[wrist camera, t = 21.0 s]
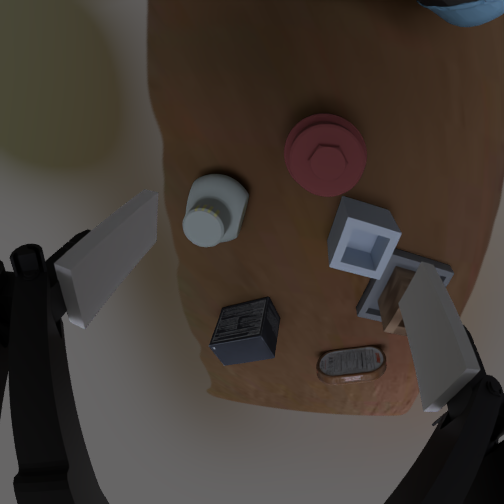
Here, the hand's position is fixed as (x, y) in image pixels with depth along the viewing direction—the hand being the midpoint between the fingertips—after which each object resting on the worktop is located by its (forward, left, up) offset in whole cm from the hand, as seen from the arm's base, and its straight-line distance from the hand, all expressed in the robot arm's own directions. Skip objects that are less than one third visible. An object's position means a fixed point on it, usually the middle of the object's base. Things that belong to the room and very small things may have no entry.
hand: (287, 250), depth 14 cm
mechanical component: (0, +3, -32) cm, 32 cm away
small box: (+35, -1, -32) cm, 47 cm away
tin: (+39, +22, -32) cm, 55 cm away
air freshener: (+13, -10, -32) cm, 36 cm away
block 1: (+11, +12, -32) cm, 36 cm away
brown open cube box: (+20, +25, -31) cm, 44 cm away
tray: (+20, +25, -32) cm, 45 cm away
